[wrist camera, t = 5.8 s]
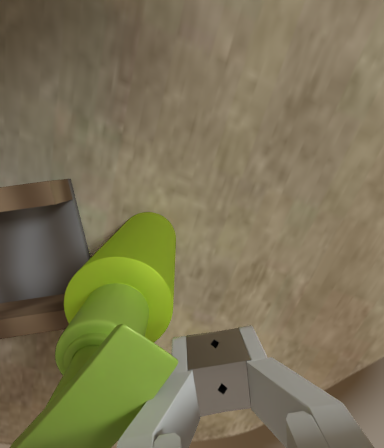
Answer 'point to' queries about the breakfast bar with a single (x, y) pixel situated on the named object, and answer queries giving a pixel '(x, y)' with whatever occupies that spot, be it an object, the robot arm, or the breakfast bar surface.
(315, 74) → the breakfast bar surface
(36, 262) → the U-rest
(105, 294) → the soap dispenser
